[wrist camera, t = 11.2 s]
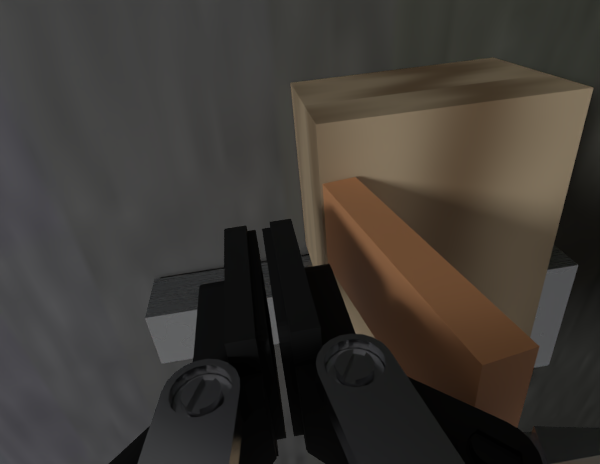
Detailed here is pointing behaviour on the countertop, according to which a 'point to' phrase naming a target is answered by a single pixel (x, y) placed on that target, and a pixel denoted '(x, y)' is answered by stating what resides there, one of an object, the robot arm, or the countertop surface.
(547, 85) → the block
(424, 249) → the bar
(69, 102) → the countertop surface
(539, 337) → the lynch pin
